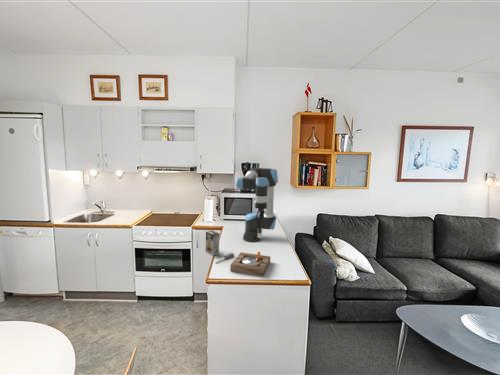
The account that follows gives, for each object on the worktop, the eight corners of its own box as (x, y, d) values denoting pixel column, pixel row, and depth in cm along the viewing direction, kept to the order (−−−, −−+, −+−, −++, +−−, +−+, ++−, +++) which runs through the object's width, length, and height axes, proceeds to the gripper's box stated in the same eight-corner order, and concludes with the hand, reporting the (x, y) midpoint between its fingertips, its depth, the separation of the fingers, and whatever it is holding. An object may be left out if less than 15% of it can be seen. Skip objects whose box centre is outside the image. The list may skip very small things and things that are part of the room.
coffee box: (205, 252, 196) (205, 231, 193) (212, 250, 200) (212, 230, 198) (212, 255, 189) (212, 234, 187) (219, 253, 194) (219, 233, 191)
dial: (240, 266, 169) (240, 254, 167) (243, 258, 181) (244, 247, 180) (259, 268, 167) (260, 256, 166) (261, 260, 179) (261, 249, 178)
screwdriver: (231, 255, 191) (231, 252, 191) (233, 256, 190) (233, 253, 189) (214, 262, 178) (214, 259, 178) (216, 264, 176) (216, 260, 176)
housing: (240, 257, 188) (240, 251, 187) (270, 262, 182) (270, 256, 181) (230, 271, 167) (230, 264, 166) (263, 276, 161) (264, 269, 160)
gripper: (264, 204, 156) (263, 241, 160) (269, 200, 168) (267, 234, 172) (252, 203, 158) (251, 240, 162) (257, 199, 170) (256, 233, 174)
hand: (259, 237), depth 167 cm, fingers closed
